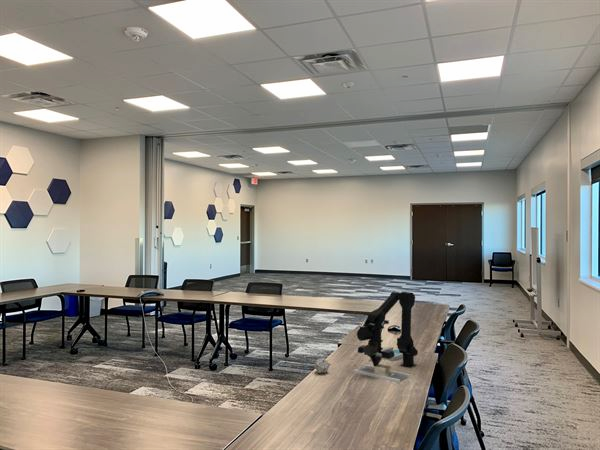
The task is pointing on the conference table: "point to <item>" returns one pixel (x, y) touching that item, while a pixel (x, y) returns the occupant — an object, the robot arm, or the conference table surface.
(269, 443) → the conference table surface
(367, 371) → the trap lane
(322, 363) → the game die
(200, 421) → the conference table surface
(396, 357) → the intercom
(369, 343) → the robot arm
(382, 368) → the birch block
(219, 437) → the conference table surface
